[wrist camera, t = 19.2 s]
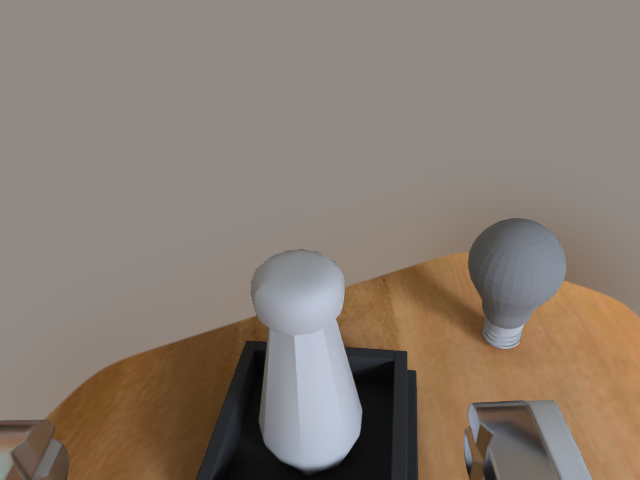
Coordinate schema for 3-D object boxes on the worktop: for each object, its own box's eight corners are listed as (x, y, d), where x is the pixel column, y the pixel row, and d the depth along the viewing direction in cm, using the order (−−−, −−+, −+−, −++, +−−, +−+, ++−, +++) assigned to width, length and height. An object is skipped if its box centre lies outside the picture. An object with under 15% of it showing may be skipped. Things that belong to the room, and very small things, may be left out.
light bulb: (451, 359, 36) (466, 243, 30) (464, 305, 41) (480, 196, 35) (541, 381, 34) (576, 261, 28) (545, 322, 38) (575, 209, 33)
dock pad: (415, 380, 35) (418, 343, 33) (418, 572, 25) (422, 536, 23) (245, 367, 36) (238, 331, 34) (185, 542, 27) (171, 507, 25)
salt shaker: (276, 398, 33) (250, 229, 25) (365, 405, 32) (364, 233, 25) (254, 484, 28) (214, 307, 21) (358, 495, 27) (354, 315, 20)
